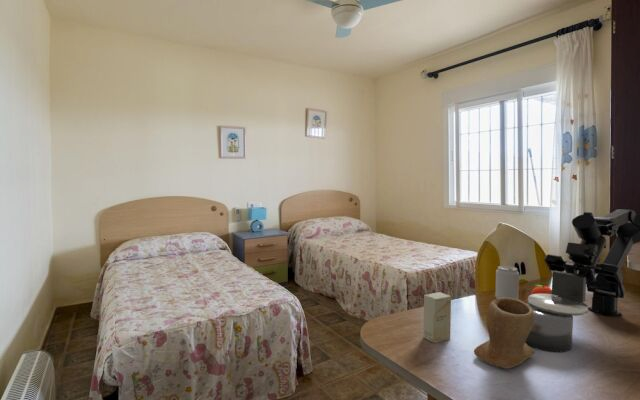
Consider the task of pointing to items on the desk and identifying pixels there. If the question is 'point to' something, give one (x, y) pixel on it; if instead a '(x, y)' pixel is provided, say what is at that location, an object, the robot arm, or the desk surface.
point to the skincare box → (437, 317)
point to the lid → (563, 295)
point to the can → (507, 282)
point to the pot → (550, 331)
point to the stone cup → (507, 333)
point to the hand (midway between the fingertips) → (570, 290)
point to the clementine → (541, 290)
